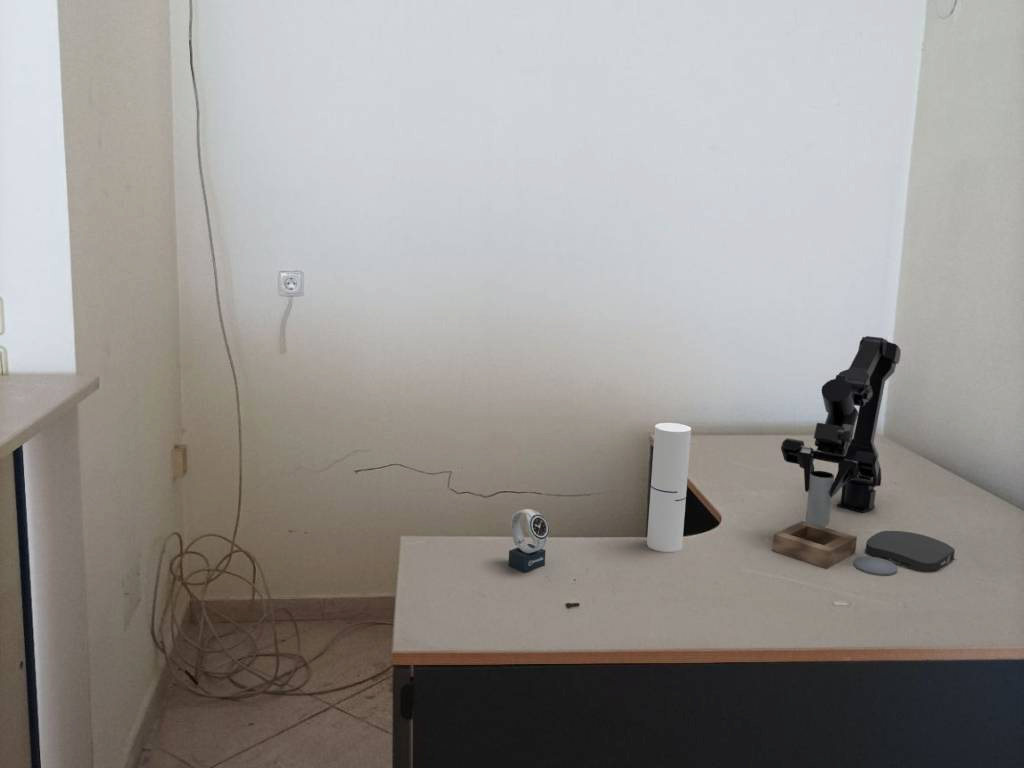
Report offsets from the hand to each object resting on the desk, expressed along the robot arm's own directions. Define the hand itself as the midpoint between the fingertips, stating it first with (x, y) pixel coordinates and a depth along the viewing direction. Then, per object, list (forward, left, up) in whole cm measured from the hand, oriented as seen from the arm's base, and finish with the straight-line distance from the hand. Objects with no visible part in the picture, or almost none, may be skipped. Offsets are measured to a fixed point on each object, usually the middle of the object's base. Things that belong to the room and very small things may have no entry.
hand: (818, 493), depth 185 cm
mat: (+12, +3, -13) cm, 18 cm away
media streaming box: (+14, +15, -13) cm, 24 cm away
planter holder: (0, +1, -13) cm, 13 cm away
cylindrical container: (-22, -20, -13) cm, 33 cm away
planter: (0, +1, -7) cm, 7 cm away
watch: (-33, -49, -13) cm, 60 cm away
